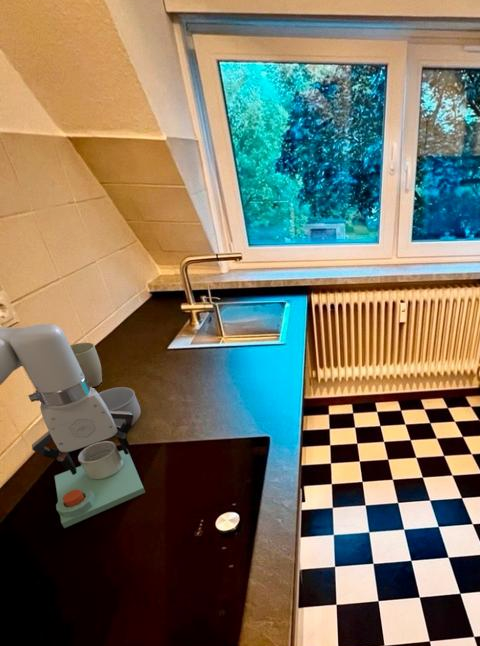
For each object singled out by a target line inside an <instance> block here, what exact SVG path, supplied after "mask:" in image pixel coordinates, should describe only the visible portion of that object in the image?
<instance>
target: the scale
mask: <svg viewBox="0 0 480 646" xmlns="http://www.w3.org/2000/svg"><path fill="white" fill-rule="evenodd" d="M128 449H129V448H127V450H128ZM118 451H119V453H120V455H121V457H122V460H123V465H122V467H121V468H120V470H119V471H118V472H117V473H115V474H114V475H112V476H110V477H107V478H104V479H91V478H89V477H88V476H87V475H86V473H85V471H84V469H83V467H82V466H81V465H79V466H77V467H76V471H77V473H76V474H74V475H73V474H72V473H71V471H70V470H68V471H66V470H65V471H63V472H61V473H58V474H56V475H54V482H55V483H54V484H55V489H56V497H57V503H56V505H55V509H56V511H57V513H58V515H59V516H60V517H59V518H60V523H61V525H62V527H63V528H64V529H66V528H68V527H71V526H73V525H75V524H77V523H80V522H82V521H84V520H86V519H88V518H90V517H93V516H95V515H98V514H100V513H102V512H104V511H107V510H109V509H111V508H113V507H115V506H118V505H120V504H123V503H125V502H127V501H130V500H132V499H134V498H136V497H138V496H141V495H143V494H145V493H146V489H145V488H144V485H143V483H142V481H141V477H140V476H139V473H138V471H137V469H136V466H135V463H134V461H133V459H132V456H131V454H130V453H129V454H127V455H126V454H125V453H124V451H123V449H122V450H118ZM128 451H129V450H128ZM73 490H80V491H81V492H82V494H83V495H84V500H83V501H82V502H81V503H80V504H78V505H76V506H73V507H68V506H66V504H65V503H64V501H63V497H64V495H65V494H67V493H68V492H70V491H73Z"/></svg>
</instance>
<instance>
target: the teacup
mask: <svg viewBox="0 0 480 646" xmlns="http://www.w3.org/2000/svg"><path fill="white" fill-rule="evenodd" d="M97 393H98V394H99V395H100V397H101V398H102V400H103V401H104V403H105V404H106V406H107V408H108V410H109V411H123V412H132V414H133V421H132V424H131V425H132V426H134V425H135V424H136V422H137V421H138V419H139V418H140V416H141V412H142V411H141V410H142V409H141V407H140V404H139V402H138V398H137V396H136V392H135V391H134V390H133V389H132V388H130V387H125V386H122V387H121V386H120V387H113V388H108V389H106V390H102V391H100V392H97ZM113 420H114V422H115V425H117V426H119V427H121V426H122V424H123V423H124V420H125V419H113Z"/></svg>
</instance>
